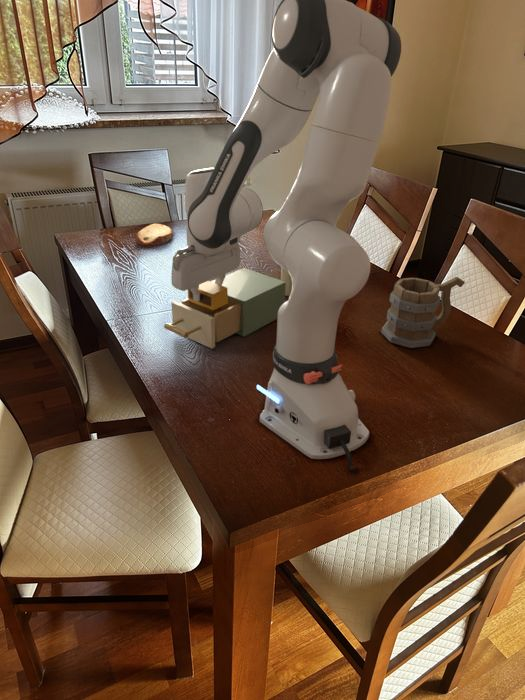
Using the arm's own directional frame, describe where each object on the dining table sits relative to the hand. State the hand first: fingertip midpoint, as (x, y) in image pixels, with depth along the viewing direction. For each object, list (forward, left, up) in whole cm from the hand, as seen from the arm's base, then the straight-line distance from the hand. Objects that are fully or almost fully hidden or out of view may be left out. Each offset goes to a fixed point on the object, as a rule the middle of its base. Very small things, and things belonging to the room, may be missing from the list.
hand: (207, 295), depth 128 cm
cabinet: (+5, -13, -11) cm, 17 cm away
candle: (+13, -33, -11) cm, 37 cm away
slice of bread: (+79, -15, -11) cm, 81 cm away
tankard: (-25, -49, -11) cm, 56 cm away
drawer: (0, +1, -10) cm, 10 cm away
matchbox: (0, 0, -2) cm, 2 cm away
